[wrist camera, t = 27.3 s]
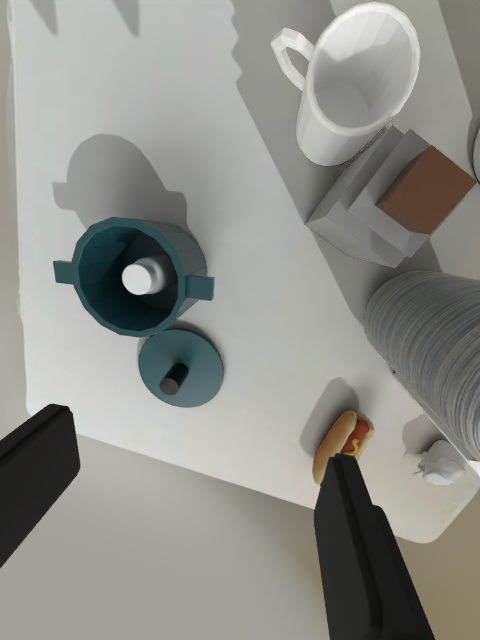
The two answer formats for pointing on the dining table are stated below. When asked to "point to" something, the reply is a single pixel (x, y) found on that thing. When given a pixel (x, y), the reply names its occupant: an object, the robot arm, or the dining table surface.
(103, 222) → the pot
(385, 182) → the perfume bottle
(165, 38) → the dining table surface
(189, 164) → the dining table surface
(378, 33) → the mug
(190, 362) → the lid
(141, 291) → the pill bottle
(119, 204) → the dining table surface
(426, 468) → the figurine
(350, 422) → the food
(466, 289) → the vase
